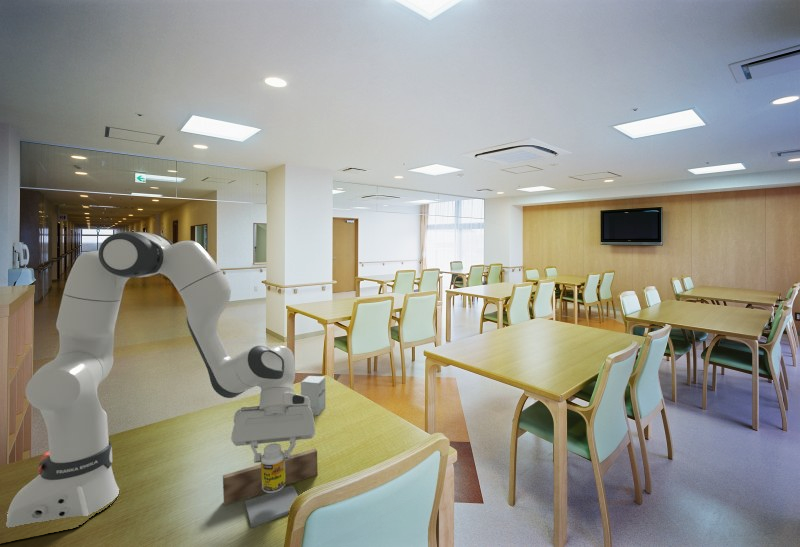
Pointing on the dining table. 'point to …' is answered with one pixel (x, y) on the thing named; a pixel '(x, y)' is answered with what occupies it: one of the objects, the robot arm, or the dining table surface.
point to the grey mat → (270, 506)
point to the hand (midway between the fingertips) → (272, 460)
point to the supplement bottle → (273, 468)
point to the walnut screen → (251, 478)
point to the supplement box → (314, 392)
